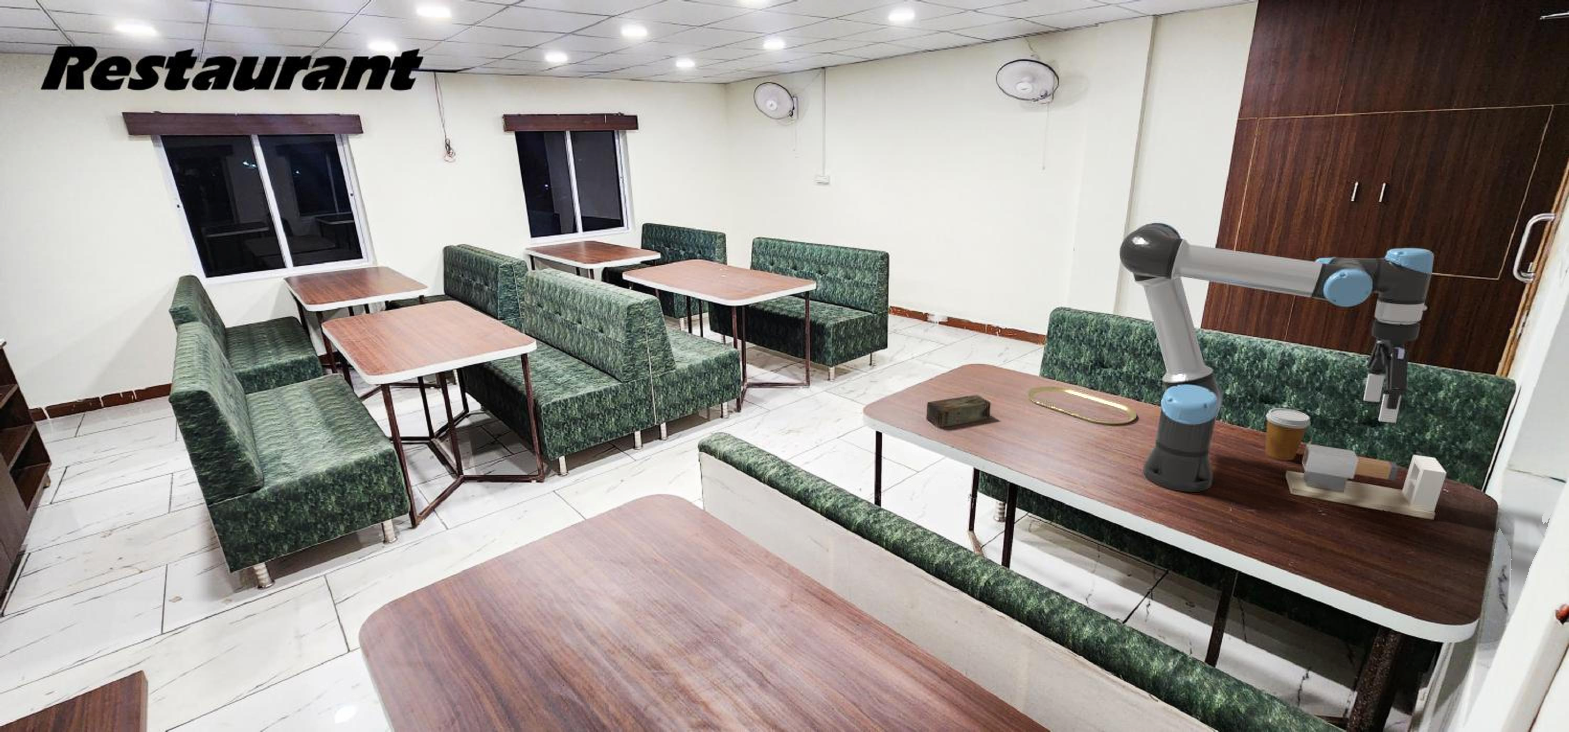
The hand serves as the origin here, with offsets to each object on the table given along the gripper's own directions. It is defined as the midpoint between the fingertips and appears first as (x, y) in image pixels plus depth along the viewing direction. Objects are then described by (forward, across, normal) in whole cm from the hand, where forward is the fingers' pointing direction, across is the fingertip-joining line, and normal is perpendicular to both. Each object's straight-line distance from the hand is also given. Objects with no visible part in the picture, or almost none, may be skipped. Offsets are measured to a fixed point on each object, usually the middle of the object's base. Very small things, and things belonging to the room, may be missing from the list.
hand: (1378, 410), depth 148 cm
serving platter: (+19, +32, +66) cm, 76 cm away
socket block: (+21, -1, -10) cm, 23 cm away
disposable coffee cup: (+21, +18, +14) cm, 31 cm away
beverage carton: (+17, +6, +98) cm, 100 cm away
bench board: (+22, 0, +1) cm, 22 cm away
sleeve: (+20, 0, +8) cm, 21 cm away
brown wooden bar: (+15, 0, +3) cm, 16 cm away
